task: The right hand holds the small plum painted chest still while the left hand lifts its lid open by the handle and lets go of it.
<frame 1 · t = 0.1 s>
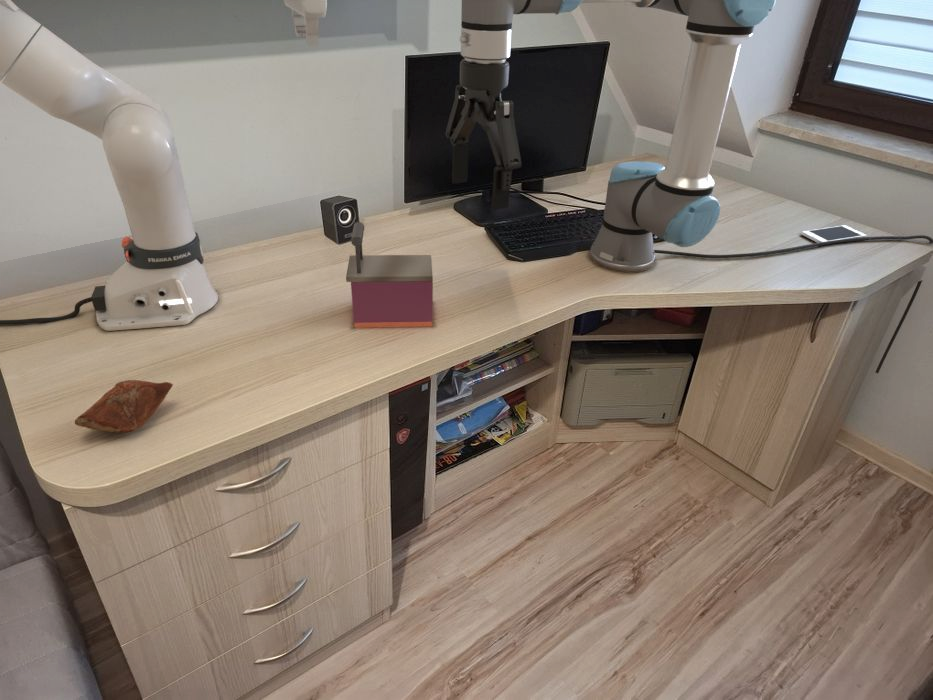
left hand: (306, 40, 114), 48 cm above the table, tool pointing down, fingers open, 8 cm apart
right hand: (479, 194, 108), 28 cm above the table, tool pointing down, fingers open, 13 cm apart
lid: (389, 250, 121), point 14 cm above the table, hinge at 0.0°
smartphone: (833, 236, 170), on the table
chest: (394, 315, 129), on the table
fossil: (132, 423, 99), on the table
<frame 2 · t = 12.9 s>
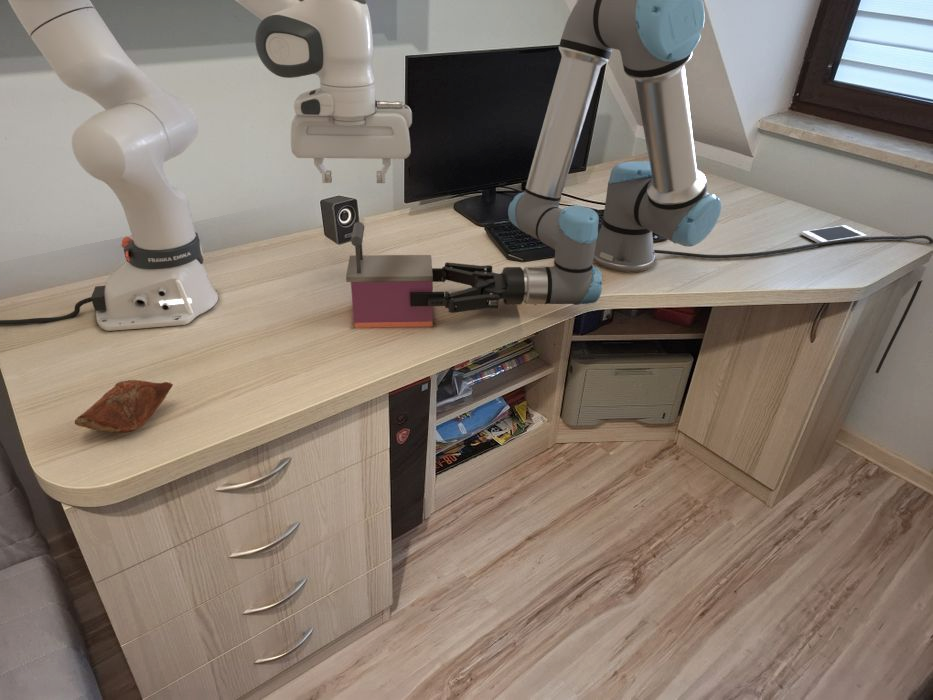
left hand: (354, 182, 113), 27 cm above the table, tool pointing down, fingers open, 8 cm apart
right hand: (410, 286, 126), 6 cm above the table, tool horizontal, fingers closed on chest, 9 cm apart
chest: (394, 315, 129), on the table, touching right hand
everything else where it was.
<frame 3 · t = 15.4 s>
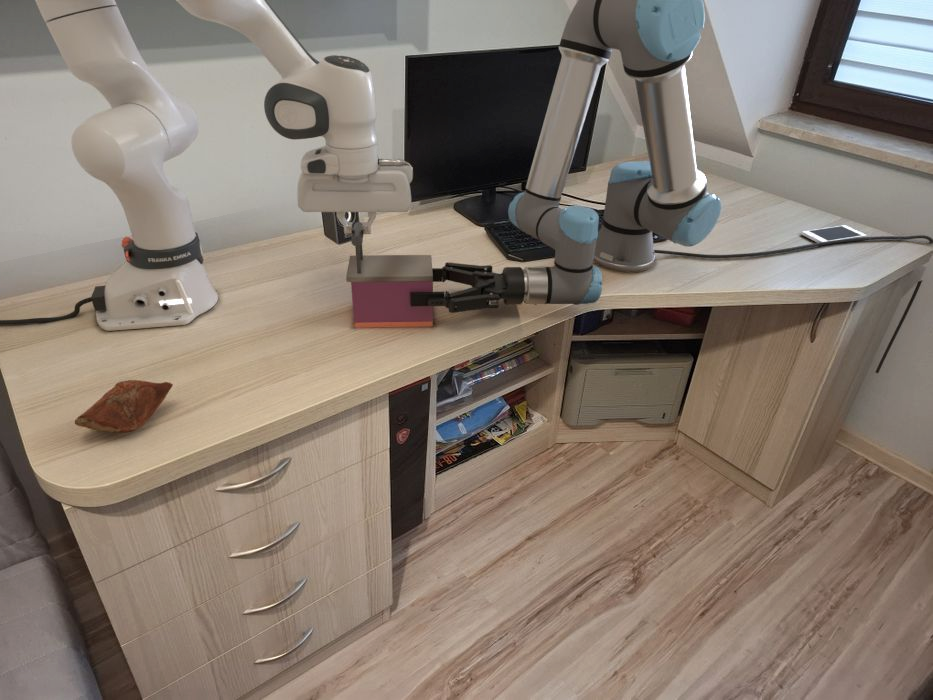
left hand: (357, 233, 118), 18 cm above the table, tool pointing down, fingers closed on lid, 2 cm apart
right hand: (410, 286, 126), 6 cm above the table, tool horizontal, fingers closed on chest, 9 cm apart
lid: (389, 250, 121), point 14 cm above the table, hinge at -0.1°, touching left hand
chest: (394, 315, 129), on the table, touching right hand
everything else where it was.
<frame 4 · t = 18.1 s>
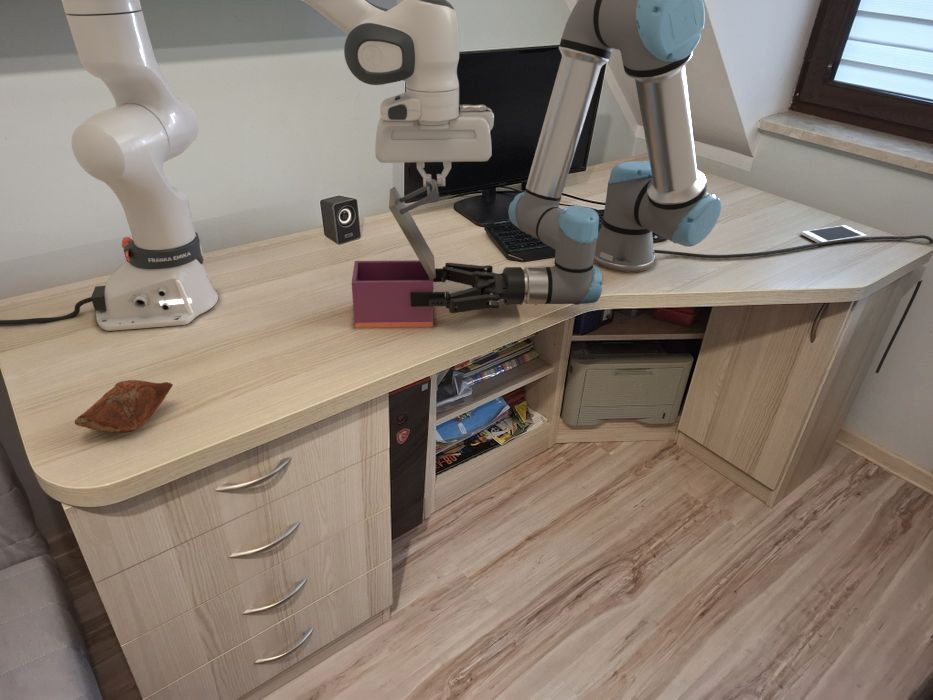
left hand: (434, 185, 115), 27 cm above the table, tool pointing down, fingers closed
right hand: (410, 287, 126), 6 cm above the table, tool horizontal, fingers closed on chest, 9 cm apart
lid: (430, 224, 119), point 19 cm above the table, hinge at 62.7°, touching left hand
chest: (394, 315, 129), on the table, touching right hand
everything else where it was.
when the right hand's fingers open (6 cm above the table, at t = 22.2 s): chest stays where it is, on the table.
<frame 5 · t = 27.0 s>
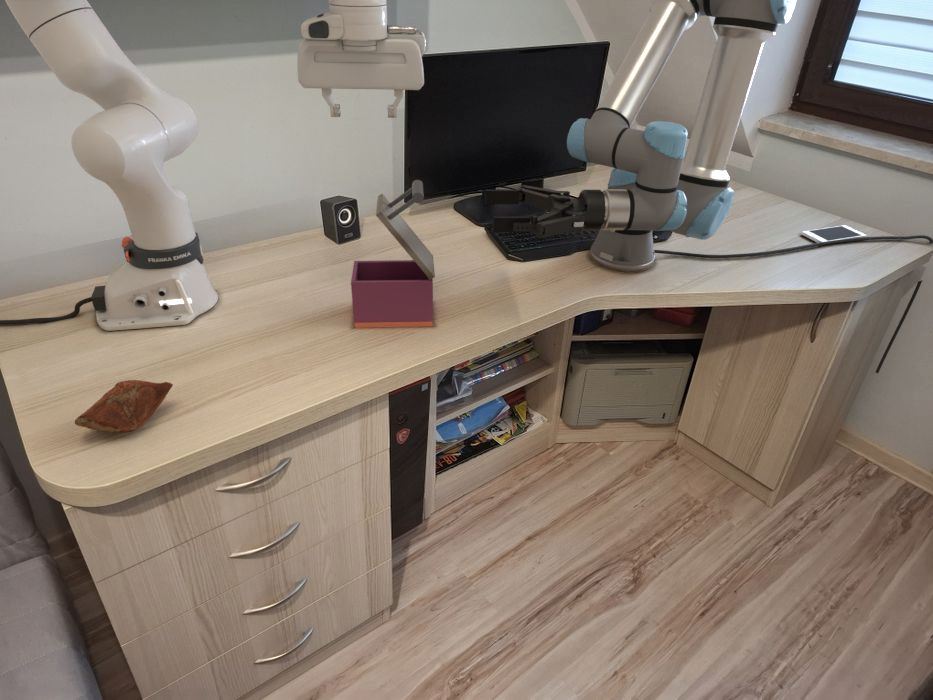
left hand: (364, 116, 107), 39 cm above the table, tool pointing down, fingers open, 8 cm apart
right hand: (488, 210, 118), 22 cm above the table, tool horizontal, fingers open, 13 cm apart
lid: (422, 225, 119), point 19 cm above the table, hinge at 53.4°
chest: (394, 315, 129), on the table
everything else where it was.
at the end: lid at +53° (first picture: +0°); the left hand is holding nothing; the right hand is holding nothing; chest tilted 0°; chest never tilted more than 1° during the clip; chest moved 0.0 cm from its start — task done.
